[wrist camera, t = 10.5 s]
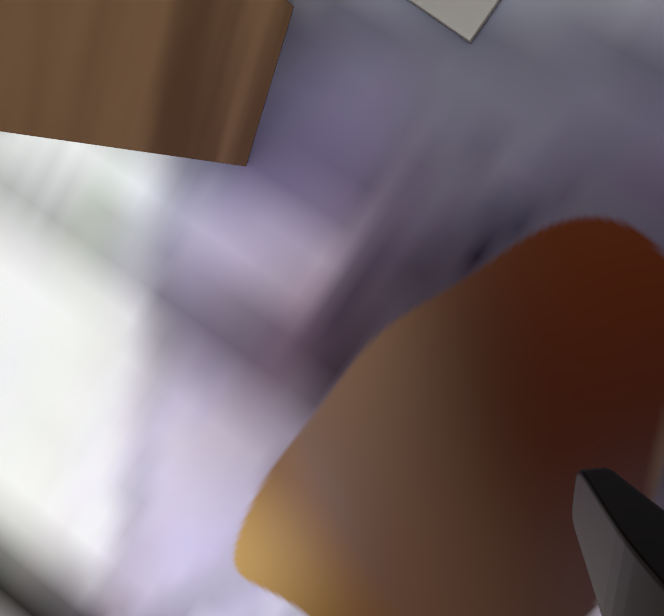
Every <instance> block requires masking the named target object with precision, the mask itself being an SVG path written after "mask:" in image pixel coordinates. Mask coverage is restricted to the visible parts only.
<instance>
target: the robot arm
mask: <svg viewBox="0 0 664 616" xmlns="http://www.w3.org/2000/svg"><path fill="white" fill-rule="evenodd" d="M572 518H573V523H574V527H575V531H576V534H577V537H578V540H579V544H580V547H581V550H582V553H583V556H584V560H585V563H586V566H587V569H588V572H589V576H590V579H591V582H592V585H593V589H594V592H595V595H596V598H597V602H598V605H599V608H600V611H601V614H602V616H664V510H663V509H661V508H660V507H659V506H657V505H656V504H655V503H654V502H652V501H651V500H650V499H648V498H647V497H646V496H645V495H643V494H642V493H641V492H639V491H638V490H637V489H636V488H634V487H633V486H631V485H630V484H629V483H628V482H626V481H625V480H624V479H623V478H621V477H620V476H619V475H617V474H616V473H615V472H614V471H612V470H610V469H608V468H594V469H583V470H580V471H579V472H578V473H577V475H576V480H575V489H574V497H573V507H572Z"/></svg>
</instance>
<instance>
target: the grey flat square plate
mask: <svg viewBox="0 0 664 616" xmlns="http://www.w3.org/2000/svg"><path fill="white" fill-rule="evenodd" d="M408 1H409V2H411V3H412V4H414V5H415V6H416V7H418V8H419V9H421V10H422V11H424V12H425V13H427V14H428V15H429V16H431V17H432V18H434V19H435V20H437V21H438V22H440V23H441V24H442V25H444V26H445V27H447V28H448V29H450V30H451V31H453V32H454V33H456V34H457V35H458V36H460V37H461V38H463V39H464V40H466V41H467V42H469V43H470V44H471V42H472V41H473V39H474V38H475V36H476V35H477V33H478V32H479V31H480V29H481V28H482V26H483V25H484V23H485V22H486V21H487V19H488V18H489V16H490V15H491V13H492V12H493V10H494V9H495V8H496V6H497V5H498V3H499V2H500V0H408Z"/></svg>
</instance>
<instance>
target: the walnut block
mask: <svg viewBox="0 0 664 616" xmlns="http://www.w3.org/2000/svg"><path fill="white" fill-rule="evenodd" d="M292 11H293V6H292V5H291V4H290V3H289V2H288V1H287V0H0V131H2V132H9V133H16V134H23V135H30V136H37V137H44V138H51V139H58V140H65V141H72V142H79V143H86V144H93V145H100V146H107V147H114V148H121V149H128V150H135V151H142V152H149V153H156V154H163V155H170V156H177V157H184V158H191V159H198V160H205V161H212V162H219V163H226V164H233V165H241V166H246V164H247V161H248V157H249V154H250V151H251V147H252V144H253V141H254V137H255V134H256V131H257V127H258V124H259V121H260V117H261V114H262V111H263V107H264V104H265V101H266V97H267V94H268V91H269V87H270V84H271V81H272V77H273V74H274V71H275V67H276V64H277V61H278V57H279V54H280V51H281V47H282V44H283V41H284V37H285V34H286V31H287V27H288V24H289V21H290V17H291V14H292Z"/></svg>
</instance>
